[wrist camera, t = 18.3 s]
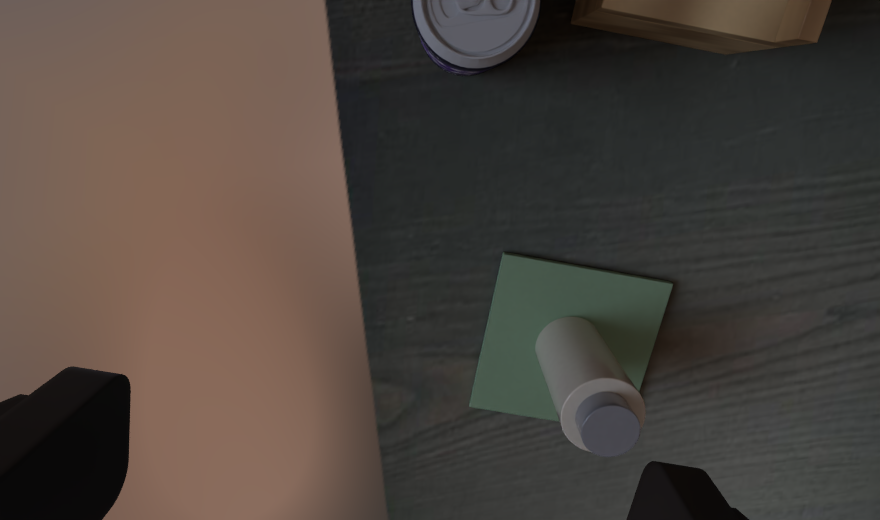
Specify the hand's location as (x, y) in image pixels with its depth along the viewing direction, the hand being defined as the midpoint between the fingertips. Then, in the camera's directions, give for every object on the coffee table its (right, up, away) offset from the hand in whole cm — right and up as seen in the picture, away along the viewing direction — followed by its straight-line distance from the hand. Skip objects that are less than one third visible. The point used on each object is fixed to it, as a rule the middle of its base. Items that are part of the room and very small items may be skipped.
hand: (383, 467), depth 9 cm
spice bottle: (+10, -3, +32) cm, 33 cm away
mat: (+10, -3, +32) cm, 34 cm away
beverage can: (+2, +18, +26) cm, 32 cm away
